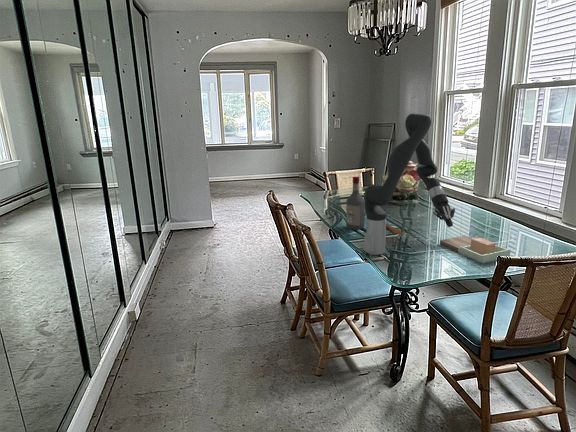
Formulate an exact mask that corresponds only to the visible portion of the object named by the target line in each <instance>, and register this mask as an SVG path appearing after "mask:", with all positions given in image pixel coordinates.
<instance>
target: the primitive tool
mask: <svg viewBox="0 0 576 432" xmlns="http://www.w3.org/2000/svg"><path fill="white" fill-rule="evenodd" d="M386 230H388V231H390V232H391V233H392V234H394V235H401V234H404V232H403V231H402V230H399V229H398V228H396V227H394V226H392V225H389V224H387V223H386Z"/></svg>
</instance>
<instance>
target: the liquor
mask: <svg viewBox="0 0 576 432" xmlns="http://www.w3.org/2000/svg"><path fill="white" fill-rule="evenodd" d="M345 206H346V207H345V209H346V213H345V214H346V216H345V218H346V220H345V222H346V223H345V224H346V228H347V229H349V230H354V231H359V230H358V229H360V230H362V229H363V228H365V224H366V222H365V220H366V219H365V216H366V215H365V214H366V212H365V197H363V196H362V195H361V194H360V177H359V176H352V192H351V194H350V196H348V197H347V199H346V205H345ZM361 228H362V229H361Z"/></svg>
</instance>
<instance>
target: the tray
mask: <svg viewBox="0 0 576 432" xmlns="http://www.w3.org/2000/svg"><path fill="white" fill-rule="evenodd" d="M470 248H471V245H470V246H465V247H461V246H459V248H458V253H457V254H459V255H462V256H464V257H467V258H469V259H471V260H473V261H476V262H477V263H480V264H482V265H484V264H488V263H493V262H497V261H496V258H497V256H510V257H511V249H507V248H505V247H502V246H499V245H497V244H495V252H494V253H489V254H485V255H480V254H478V253H476V252H473V251H471V250H470Z"/></svg>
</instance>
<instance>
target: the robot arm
mask: <svg viewBox="0 0 576 432" xmlns="http://www.w3.org/2000/svg"><path fill="white" fill-rule="evenodd" d="M404 125H405V126H404V127H405V130H406V132H407V135H408V136H409V137H408V138H407V139H405V140H403V141H402V142H401V143H399V144H398V145H397V146H396V147H395V148H393V150H392V152H391V154H390V156H389V157H388V159H387V165H386V166H387V172H388V177H387V179H386V181H385V183H384V185H382V184H375V183H374V184H373V183H371V184H370V185H368V186H367V188H366V190H365V192H364V200H365V214H366V215H365V216H366V225H365V226H366V227H365V228H366V229H365V230H366V232H364V241H363V243H364V244H363V245H364V246H363V247H364V248H363V250H364V251H363V252H365V253H367V254H369V255H370V256H380V255H379V254H381V255H383V253H384V254H386V237H387V229H386V224H387V212H386V211H385V209H384V210H383V208H382V206H386V205H388V203H390V202H389V201H390V199H391V197H392V195H393V193H394V190H395V188H396V186H397V183H398V181H399V179H400V177H401V175H402V173H403V172H404V170H405V168H406V167H407V165H408V163H409V161H411V159H412V157H413V156H414V153H415V155H416V159H417V163H418V164H419V166H417V170H416V172H417V175H418V177H420V178H419V180H420V181H422V182H423V184H424V185H425V186H426V189H427V192H428V195H429V198H430V201H431V203H432V206H433V208H434V209H435V210H434V211H433V212H432V214H433V215H434V216H435V217H437V218H438V219H440V220H441V221H444V222H445V224H446V226H447V227H448V228H451V227H453V226H454V224H453V221H452V218H454V217H455V212H456V208H452V207H451V205H450V204H449V199H448V196H447V195H446V193H445V190H444V188H443V186H442V185H441V183H440V180H439V178H438V177H431V176H434V175H436V174H437V173H438V166H437V165H436V163H435V161H434V160H433V158H432V153H431V149H430V146H429V145H428V143H427V142H426V141H425V140H424V138H425V136H426V135H427V134H428V131H429V130H430V128H431V126H432V117H431V115H428V114H424V113H409V114H408V115H407V116H406V118H405V122H404Z"/></svg>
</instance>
